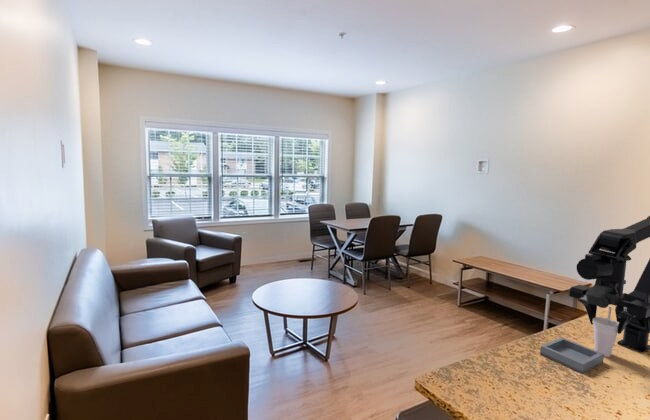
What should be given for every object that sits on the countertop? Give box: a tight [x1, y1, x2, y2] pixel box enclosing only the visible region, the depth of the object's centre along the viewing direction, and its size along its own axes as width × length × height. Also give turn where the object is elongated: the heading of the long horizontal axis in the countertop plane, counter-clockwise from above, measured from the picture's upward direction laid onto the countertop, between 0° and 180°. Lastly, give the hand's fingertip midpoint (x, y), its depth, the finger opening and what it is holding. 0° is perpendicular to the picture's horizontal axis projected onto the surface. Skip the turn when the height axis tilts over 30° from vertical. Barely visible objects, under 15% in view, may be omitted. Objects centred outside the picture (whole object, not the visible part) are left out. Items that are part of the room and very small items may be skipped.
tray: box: [539, 337, 605, 374], centre depth 102 cm, size 11×11×2 cm
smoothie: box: [592, 306, 619, 358], centre depth 104 cm, size 6×6×14 cm
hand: (605, 328), depth 104 cm, fingers closed on smoothie, 6 cm apart
